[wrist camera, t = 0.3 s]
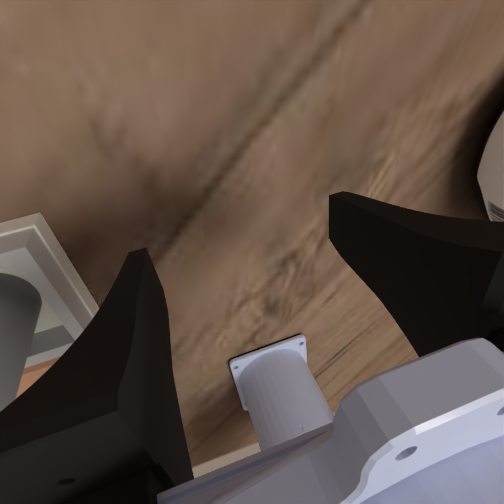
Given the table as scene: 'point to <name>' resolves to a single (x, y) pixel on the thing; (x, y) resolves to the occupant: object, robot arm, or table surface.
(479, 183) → the milk container
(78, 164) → the table surface
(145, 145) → the table surface
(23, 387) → the white cylinder holder tray
